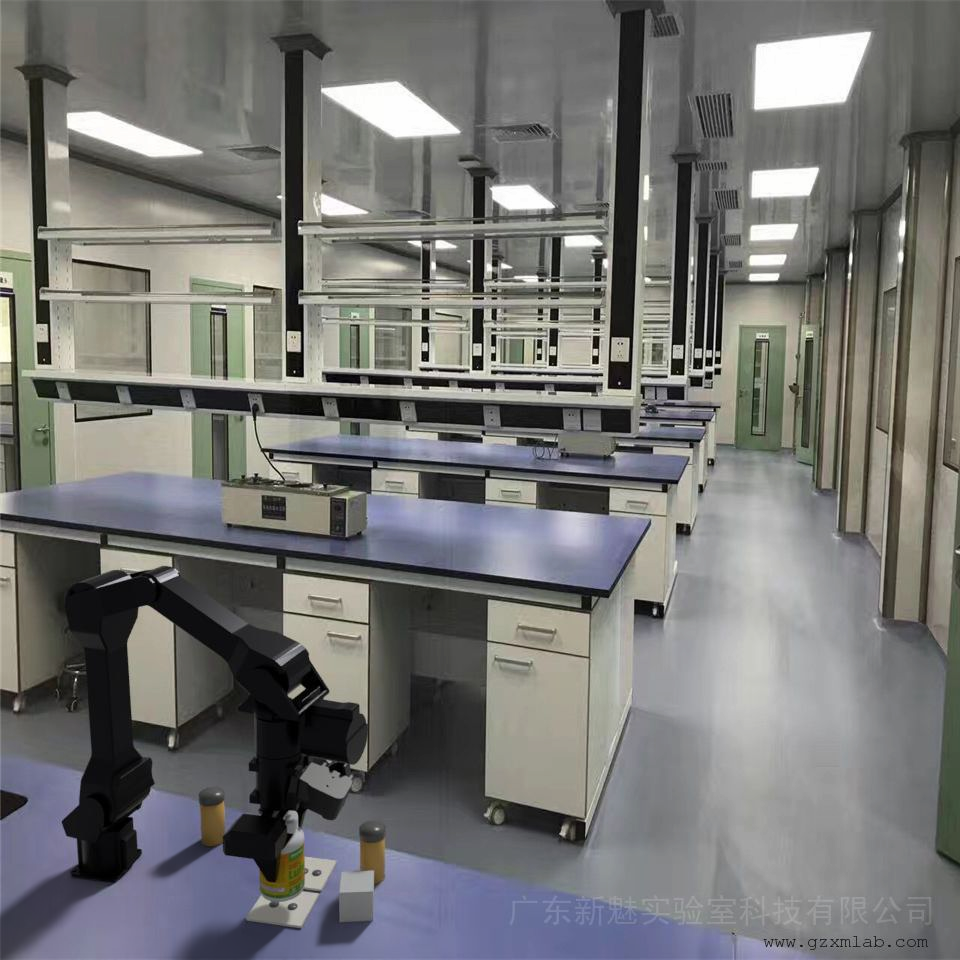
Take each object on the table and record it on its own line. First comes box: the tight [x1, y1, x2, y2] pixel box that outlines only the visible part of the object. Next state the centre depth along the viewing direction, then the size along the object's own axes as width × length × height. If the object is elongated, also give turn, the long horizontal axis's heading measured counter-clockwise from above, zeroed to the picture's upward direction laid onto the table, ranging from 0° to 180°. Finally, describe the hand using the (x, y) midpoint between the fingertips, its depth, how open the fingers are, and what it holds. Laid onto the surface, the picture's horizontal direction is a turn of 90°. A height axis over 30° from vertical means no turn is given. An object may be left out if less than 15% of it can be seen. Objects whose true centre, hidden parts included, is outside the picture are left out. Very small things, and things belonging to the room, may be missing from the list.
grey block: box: [338, 870, 375, 923], centre depth 102 cm, size 4×4×4 cm
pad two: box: [245, 890, 320, 929], centre depth 103 cm, size 7×6×1 cm
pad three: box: [303, 856, 338, 892], centre depth 109 cm, size 7×6×1 cm
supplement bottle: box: [258, 811, 306, 902], centre depth 102 cm, size 5×5×10 cm
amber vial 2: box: [358, 819, 387, 886], centre depth 108 cm, size 3×3×7 cm
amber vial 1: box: [198, 786, 227, 847], centre depth 116 cm, size 3×3×7 cm
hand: (281, 866), depth 102 cm, fingers closed on supplement bottle, 5 cm apart
